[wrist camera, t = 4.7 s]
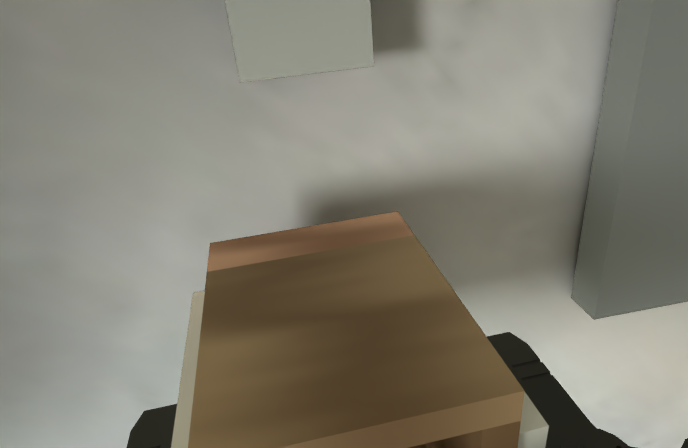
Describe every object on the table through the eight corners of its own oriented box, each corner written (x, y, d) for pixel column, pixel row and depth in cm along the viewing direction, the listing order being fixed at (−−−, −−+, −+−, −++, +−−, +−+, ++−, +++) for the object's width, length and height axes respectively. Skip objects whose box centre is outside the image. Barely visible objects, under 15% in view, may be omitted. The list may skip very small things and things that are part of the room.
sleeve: (245, 384, 16) (251, 642, 9) (210, 243, 13) (185, 469, 7) (403, 351, 16) (502, 571, 10) (397, 211, 14) (524, 390, 8)
